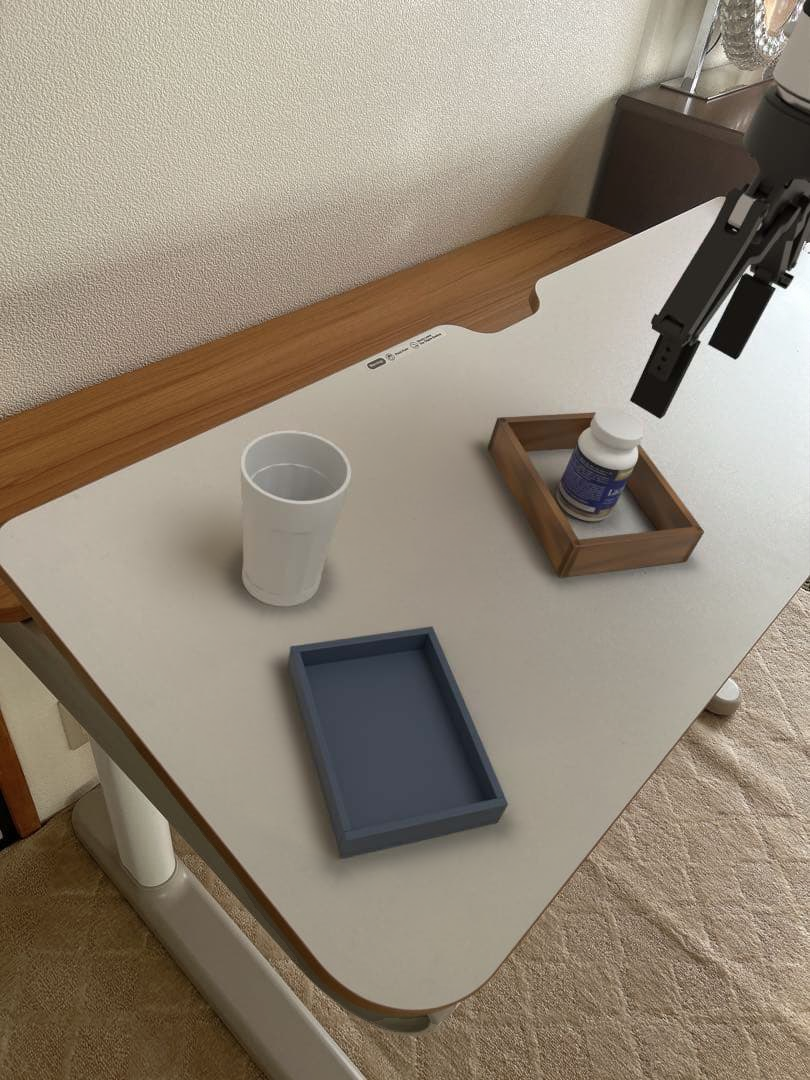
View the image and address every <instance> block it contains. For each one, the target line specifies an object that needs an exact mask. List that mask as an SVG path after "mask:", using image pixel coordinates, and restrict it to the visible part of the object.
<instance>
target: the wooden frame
mask: <svg viewBox="0 0 810 1080" xmlns="http://www.w3.org/2000/svg"><path fill="white" fill-rule="evenodd" d="M596 412H597V411H596ZM596 412H595V411H591V412H576V413H558V414H554V413H553V414H540V415H521V416H502V417H501V416H500V417H496V420H495V423H494V426H493V429H492V433H491V435H490V438H489V441H488V445H487V448H486V449H487V451H488V453H489V455H490V457H491V458H492V460H493V462H494V464H495V465H496V467H497V469H498V471H499V472H500V474H501V476H502V478H503V480H504V481H505V483H506V485H507V486H508V488H509V490H510V492H511V493H512V495H513V497H514V499H515V501H516V502H517V505H518V506H519V508H520V509H521V511H522V513H523V514H524V517H525V518H526V520H527V521H528V523H529V525H530V527H531V529H532V531H533V533H534V534H535V536H536V538H537V539H538V541H539V543H540V544H541V547H542V548H543V550H544V552H545V553H546V555H547V557H548V559H549V560H550V563H551V565H552V566H553V568H554V570H555V571H556V573H557V575H558V576H559V578H569V577H576V576H584V575H585V576H586V575H592V574H601V573H607V572H616V571H624V570H631V569H638V568H646V567H655V566H662V565H669V564H678V563H679V564H680V563H685V562H688V560H689V559H690V557H691V555H692V553H693V552H694V550H695V549H696V547H697V545H698V543H699V542H700V540H701V538H702V537H703V535H704V534H705V530H704V529H703V528H702V527H701V524H700V523H699V522H698V521H697V520H696V518H695V517H694V516H693V514H692V513H691V511H690V510H689V509H688V508H687V506H686V505H685V503H684V502H683V501H682V500H681V498H680V496H679V495H678V494H677V492H675V490H674V488H673V487H672V485H670V483H669V482H668V480H667V479H666V478H665V476H664V475H663V473H662V472H661V471H660V470H659V468H658V467H657V466H656V464H655V463H654V461H653V460H652V459H651V457H650V456H649V455H648V453H647V452H646V450H645V449H644V448H643V447H642V445H641V443H640V444H639V445H638V446H637V449H638V459H637V462H636V464H635V466H634V468H633V470H632V472H631V474H630V476H629V478H628V480H627V482H626V484H625V486H626V488H627V489H628V490H629V491H630V493H631V494H632V495H633V497H634V498H635V500H636V501H637V503H638V504H639V505H640V507H641V509H642V510H643V511H644V512H645V514H646V516H647V517H648V519H649V521H650V522H651V523H652V525H653V526H654V528H656V530H652V531H643V532H633V533H625V534H624V533H623V534H616V535H615V534H614V535H607V536H598V537H590V538H581V539H579V538H578V536H577V534H576V533H575V531H574V530H573V528H572V526H571V524H570V523H569V521H568V520H567V518H566V516H565V515H564V513H563V511H562V510H561V508H560V507H559V506H560V505H558V503H557V502H556V500H555V498H554V497H553V495H552V493H551V492H550V490H549V488H548V486H546V484H545V482H544V480H543V479H542V477H541V475H540V474H539V472H538V470H537V469H536V466H535V465H534V464H533V462H532V461H531V459H530V457H529V455H528V454H527V452H534V451H550V450H564V449H574V448H575V446H576V444H577V441H578V439H579V437H580V435H581V434H582V432H583V431H584V430H586V429H587V428H589V427H590V424H591V421H592V419H593V417H594V415H595V413H596Z"/></svg>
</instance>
